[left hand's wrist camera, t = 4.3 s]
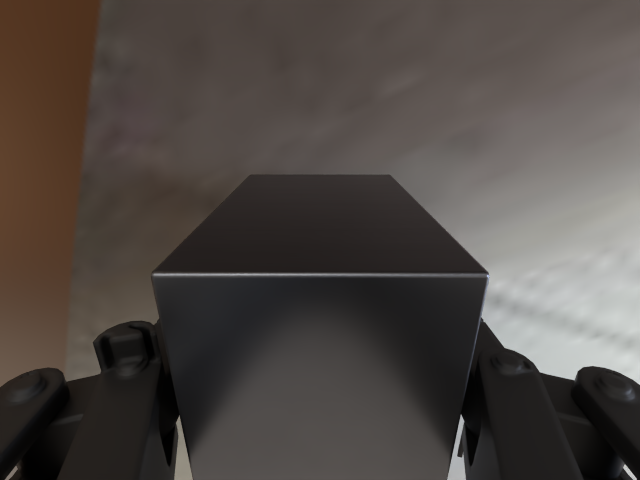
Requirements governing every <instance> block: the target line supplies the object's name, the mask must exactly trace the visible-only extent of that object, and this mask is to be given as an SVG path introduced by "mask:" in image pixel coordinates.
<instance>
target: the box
mask: <svg viewBox="0 0 640 480" xmlns="http://www.w3.org/2000/svg"><path fill="white" fill-rule="evenodd" d="M151 280H152V285H153V290H154V294H155V299H156V304H157V309H158V314H159V318H160V323H161V328H162V333H163V338H164V342H165V347H166V352H167V357H168V362H169V366H170V371H171V376H172V381H173V385H174V390H175V395H176V400H177V405H178V409H179V414H180V419H181V424H182V429H183V433H184V438H185V443H186V448H187V453H188V457H189V462H190V467H191V472H192V477H193V480H447V477H448V473H449V468H450V463H451V458H452V453H453V449H454V444H455V439H456V434H457V430H458V425H459V420H460V415H461V410H462V406H463V401H464V396H465V391H466V387H467V382H468V377H469V372H470V367H471V363H472V358H473V353H474V348H475V344H476V339H477V334H478V329H479V324H480V320H481V315H482V310H483V305H484V301H485V296H486V291H487V286H488V281H489V273H488V272H487V271H486V270H485V269H484V268H483V267H482V266H481V265H480V264H479V263H478V262H477V261H476V260H475V259H474V258H473V257H472V256H471V255H470V254H469V253H468V252H467V251H466V250H465V249H464V248H463V247H462V246H461V245H460V244H459V243H458V242H457V241H456V240H455V239H454V238H453V237H452V236H451V235H450V234H449V233H448V232H447V231H446V230H445V229H444V228H443V227H442V226H441V225H440V224H439V223H438V222H437V221H436V220H435V219H434V218H433V217H432V216H431V215H430V214H429V213H428V212H427V211H426V210H425V209H424V208H423V207H422V206H421V205H420V204H419V203H418V202H417V201H416V200H415V199H414V198H413V197H412V196H411V195H410V194H409V193H408V192H407V191H406V190H405V189H404V188H403V187H402V186H401V185H400V184H399V183H398V182H397V181H396V180H395V179H394V178H393V177H392V176H391V175H249V176H248V177H247V178H246V179H245V180H244V181H243V182H242V183H241V184H240V185H239V186H238V187H237V188H236V189H235V190H234V191H233V192H232V193H231V194H230V195H229V196H228V197H227V198H226V199H225V200H224V201H223V202H222V203H221V204H220V205H219V206H218V207H217V208H216V209H215V210H214V211H213V212H212V213H211V214H210V215H209V216H208V217H207V218H206V219H205V220H204V221H203V222H202V223H201V224H200V225H199V226H198V227H197V228H196V229H195V230H194V231H193V232H192V233H191V234H190V235H189V236H188V237H187V238H186V239H185V240H184V241H183V242H182V243H181V244H180V245H179V246H178V247H177V248H176V249H175V250H174V251H173V252H172V253H171V254H170V255H169V256H168V257H167V258H166V259H165V260H164V261H163V262H162V263H161V264H160V265H159V266H158V267H157V268H156V269H155V270H154V271H153V272H152V274H151Z"/></svg>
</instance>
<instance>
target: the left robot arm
mask: <svg viewBox="0 0 640 480" xmlns="http://www.w3.org/2000/svg"><path fill="white" fill-rule="evenodd" d="M93 345H94V348H95V351H96V355H97V358H98V361H99V365H100V368H101V373H100V374H98V375H95V376H91V377H86V378H82V379H77V380H72V381H68V382H66V380H65V377H64V375H63V373H62V372H61V371H60V370H59V369H55V368H42V369H36V370H33V371H30V372H26V373H24V374H21V375H19V376H18V377H16V378H14V379H12V380H10V381H8V382H7V383H5V384H4V385H3V386H1V387H0V480H5V479H6V477H7V476H8V475H9V473H10V472H11V471H12V470H13V468H14V467H15V466H17V468H18V470H17V471H16V472H15V474H14V475H13V476H12V477H11V478H10V479H9V480H174V474H175V464H176V454H177V444H178V431H177V426H176V421H177V419H178V417H179V415H180V414H179V409H178V405H177V400H176V395H175V390H174V385H173V381H172V376H171V371H170V366H169V362H168V357H167V352H166V347H165V342H164V338H163V333H162V328H161V323H160V318H159V320H158V321H157V323H156V324H155V325H152V324H151V323H150V322H145V321H130V322H126V323H122V324H119V325H116V326H114V327H112V328H109V329H107V330H106V331H105V332H103V333H102V334H100V335H99V336H98V337H97V338H96V339H95V341H94V342H93ZM461 415H462V417H463V419H464V426H463V430H462V435H461V439H460V444H459V449H458V455H457V456H458V457H462V454H463V453H464V463H465V473H466V480H633V479H632V478H631V477H630V476H629V475H628V474H627V473H626V471H625V470H624V469H623V466H624V464H626V466H627V467H628V468H629V469H630V471H631V472H632V473H633V474H634V476H635V477H636V478H637V480H640V385H639V384H638V383H636V382H635V381H634V380H632V379H630V378H628V377H626V376H624V375H622V374H621V373H618V372H616V371H612V370H610V369H606V368H601V367H594V366H591V367H583V368H582V369H580V370H579V371H578V373H577V375H576V378H575V381H574V380H570V379H565V378H561V377H556V376H552V375H547V374H544V373H540V372H539V371H538V369H537V368H536V366H535V365H534V363H533V362H531V361H530V360H529V359H528V358H526V357H525V356H523V355H521V354H519V353H517V352H515V351H513V350H509V349H506V348H504V347H503V345H502V344H501V343H500V341H499V340H498V339H497V338H496V336H495V335H494V334H493V332H492V331H491V330H490V328H489V327H488V326H487V324H486V323H485V322H483V319H482V318H481V320H480V324H479V329H478V334H477V339H476V344H475V348H474V353H473V358H472V363H471V367H470V372H469V377H468V382H467V387H466V391H465V396H464V401H463V406H462V410H461Z"/></svg>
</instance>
